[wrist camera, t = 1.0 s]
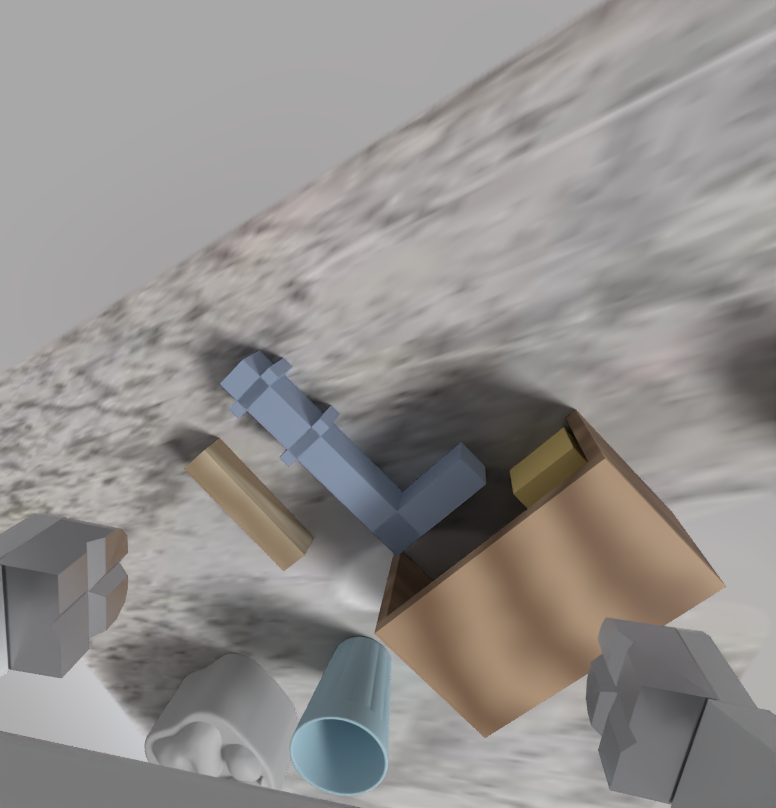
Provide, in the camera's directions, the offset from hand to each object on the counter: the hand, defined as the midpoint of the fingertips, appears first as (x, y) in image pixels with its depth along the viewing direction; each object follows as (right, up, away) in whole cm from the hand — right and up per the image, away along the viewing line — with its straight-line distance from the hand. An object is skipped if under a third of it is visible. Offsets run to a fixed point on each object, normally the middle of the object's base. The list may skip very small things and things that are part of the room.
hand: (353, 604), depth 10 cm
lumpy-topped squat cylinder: (-14, -28, +48) cm, 57 cm away
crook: (-2, +2, +37) cm, 37 cm away
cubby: (+11, -7, +37) cm, 40 cm away
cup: (-2, -21, +44) cm, 48 cm away
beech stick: (-11, -5, +40) cm, 42 cm away
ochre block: (+14, -2, +36) cm, 38 cm away
